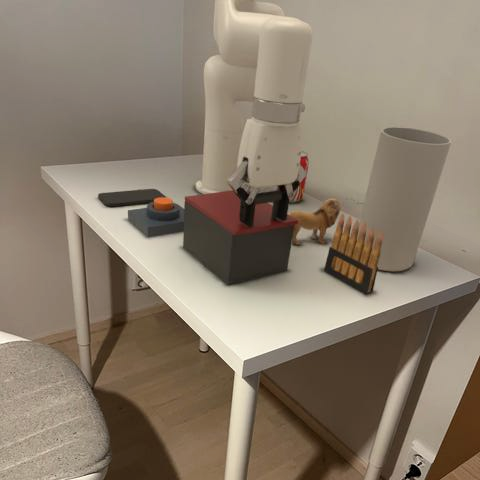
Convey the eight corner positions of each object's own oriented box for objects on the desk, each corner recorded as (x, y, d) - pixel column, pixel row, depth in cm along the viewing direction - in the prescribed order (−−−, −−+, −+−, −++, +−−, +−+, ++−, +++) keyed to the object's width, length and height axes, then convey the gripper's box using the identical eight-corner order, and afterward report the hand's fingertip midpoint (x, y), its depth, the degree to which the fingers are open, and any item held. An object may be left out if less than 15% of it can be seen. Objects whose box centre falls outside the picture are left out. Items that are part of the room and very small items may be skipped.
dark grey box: (287, 270, 96) (294, 222, 91) (227, 285, 89) (232, 234, 84) (238, 237, 107) (243, 192, 102) (182, 247, 100) (184, 200, 95)
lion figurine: (325, 232, 114) (333, 194, 109) (339, 242, 110) (348, 202, 105) (269, 239, 108) (275, 198, 103) (281, 249, 104) (288, 208, 99)
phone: (168, 198, 120) (107, 204, 113) (167, 201, 121) (107, 207, 113) (155, 188, 125) (96, 193, 118) (155, 191, 126) (96, 196, 119)
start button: (167, 204, 110) (167, 196, 109) (176, 210, 107) (176, 202, 106) (150, 206, 107) (150, 198, 107) (159, 212, 105) (159, 204, 104)
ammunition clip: (323, 270, 98) (335, 211, 91) (330, 268, 99) (342, 210, 92) (366, 294, 91) (382, 233, 84) (372, 292, 92) (389, 231, 85)
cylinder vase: (408, 251, 109) (444, 132, 96) (415, 277, 99) (457, 148, 85) (351, 242, 110) (379, 124, 97) (352, 267, 100) (383, 138, 86)
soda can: (301, 205, 127) (309, 158, 121) (273, 201, 128) (280, 153, 122) (303, 197, 133) (311, 151, 127) (277, 192, 134) (284, 147, 127)
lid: (297, 224, 90) (303, 191, 87) (235, 236, 83) (238, 200, 80) (243, 192, 102) (246, 162, 98) (184, 200, 95) (185, 168, 91)
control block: (176, 212, 116) (177, 195, 113) (198, 228, 109) (199, 211, 107) (127, 219, 109) (127, 202, 107) (147, 237, 103) (147, 218, 101)
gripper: (303, 106, 85) (288, 207, 94) (216, 108, 76) (209, 220, 85) (333, 115, 80) (314, 221, 89) (244, 119, 71) (233, 236, 80)
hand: (263, 220), depth 87 cm, fingers open, 6 cm apart
